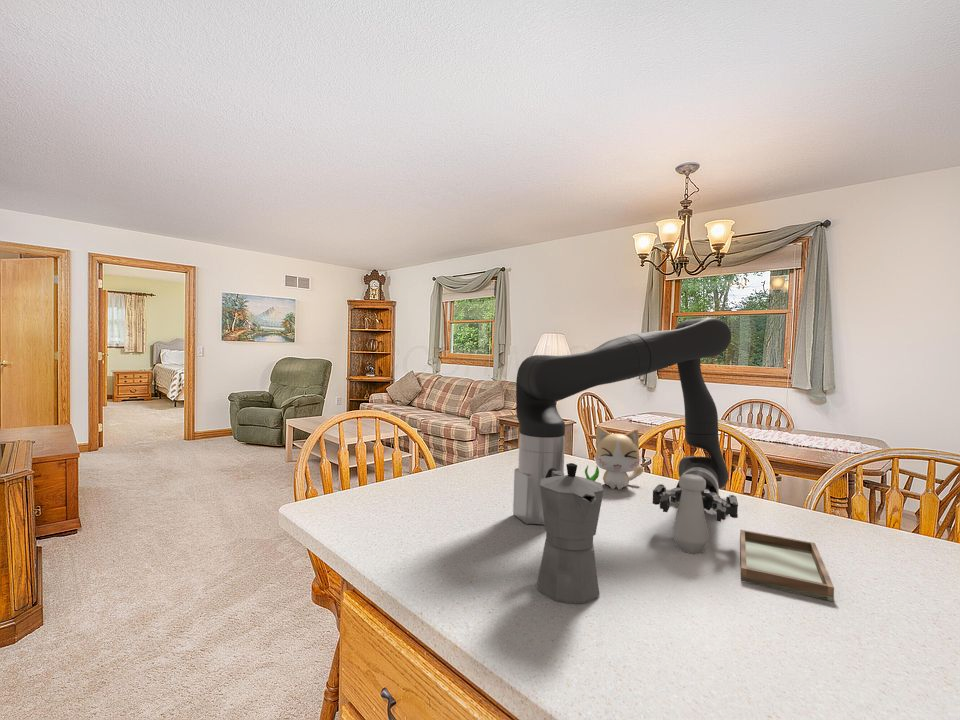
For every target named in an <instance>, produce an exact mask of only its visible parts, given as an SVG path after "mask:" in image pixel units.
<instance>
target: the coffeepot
mask: <svg viewBox="0 0 960 720" xmlns="http://www.w3.org/2000/svg"><path fill="white" fill-rule="evenodd" d="M565 465H566V471H567V475H566V474H565V473H563V472H561V471H558V470H557V469H555V468H550V469H549V470H548V472H547V474H546V477H545V478H543V479H541V483H540V488H541V498H542V507H543V516H544V531H545V533H546V534H545V541H544V545H543V551H542V556H541V562H540V567H539V571H538V577H537V587H536V588H537V590H538V591H539V592H540V593H541V594H542V595H544V596H545V597H547V598H548V599H550V600H553V601H557V602H560V603H562V604H563V603H564V604H572V605H573V604H576V605H577V604H584V603H585V604H586V603H590V602H592V601H594V600H595V599H596V598H597V597H599V596H600V588H599V580H598V573H597V564H596V555H595V547H594V537H595V536H596V534H597V529H598V528H597V527H598V522H599V518H600V513H601V506H602V501H603V495H604V487H603V484H602V483H601V482H599V481H596V480H595V481H592V480H589V479H586V478H585V477H582V476H578V475H576V473H577V469H578V464H576V463H573V462H571V463H566V464H565Z"/></svg>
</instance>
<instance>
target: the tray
mask: <svg viewBox="0 0 960 720" xmlns="http://www.w3.org/2000/svg"><path fill="white" fill-rule="evenodd" d="M739 532H740V533H739V551H740V552H739V555H740V556H739V557H740V558H739V559H740V561H739V563H740V582H743V583H744V582H745V583H748V584H754V585H757V586H762V587H767V588H769V589H770V588H771V589H775V590H780V591H784V592H788V593H793V594H796V595H802V596H806V597H810V598H816V599H818V600H824V601H828V602H833V603H834V601H835V599H834V597H835V586H834V584H833V582H832V579H831V577H830V575H829V573H828V570H827V568H826V565H825V563H824V561H823V558H822V556H821V554H820V552H819V549H818V547H817V545H816V543H815V542H812V541H806V540H801V539H796V538H790V537H783V536H778V535H775V534H774V535H772V534H768V533H762V532H758V531H757V532H756V531H752V530H745V529H740V531H739Z"/></svg>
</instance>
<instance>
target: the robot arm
mask: <svg viewBox="0 0 960 720" xmlns="http://www.w3.org/2000/svg"><path fill="white" fill-rule="evenodd" d="M731 341H732V331H731V329H730V327H729V325H728V324H727V323H726V322H724V321H723V320H721V319H719V318H716V317H709V316H708V317H700V318H693V319H692V318H691V319H686V320H683V321H680V322H679V323H678V324H677V325H676V326H675V328H674V329H669V330H668V329H665V330H655V331H646V332H637V333H633V334H629V335H623V336H619V337H616V338H613V339H611V340H608V341H606V342H604V343H601V345H599V346H597V347H595V348H593V349H592V350H589V351H585V352H580V353H574V354H566V355H546V354H545V355H543V354H538V355H537V354H536V355H531V356H528V357H526V358H525V359H524V360H523V361H522V362H521V363H520V365H519V367H518V369H517V374H516V381H515V384H516V385H515V387H516V388H515V391H516V392H515V394H516V395H515V404H516V405H515V407H516V408H515V410H516V417H517V418H516V419H517V421H518V424H519V425H518V426H519V433H518V434H519V440H518V441H519V442H518V443H519V444H518V468H514V474H513V475H514V476H513V501H512V503H513V504H512V505H513V507H512V515H514V516H515V517H516V518H518V519H519V520H520V521H522V522H523V523H524V524H526V525H529V524H530V525H531V524H533V525H544V516H543V507H542V498H541V488H540V483H541V479H543V478H545V477H546V474H547V472H548V470H549V469H550V468H555V469H557V470H558V471H561V472H563V473H564V471H565V469H564V468H565V467H564V466H565V440H566V439H565V437H566V424H565V423H566V422H565V421H564V419H563V418H562V417H561V415H560V413H559V412H558V409H557V408H558V407H557V402H559V401H562V400H564V399H567V398H569V397H571V396H574V395H578V393H581V392H584V391H587V390H589V389H591V388H592V389H593V388H594V387H597V386H601V385H608V384H614V383H618V382H622V381H627V380H631V379H634V378H637V377H641V376H644V375H647V374H650V373H654V372H656V371H657V372H658V371H660V370H663V369H666V368H669V367H672V366H674V365H676V366H677V371H678V376H679V380H680V385H681V391H682V396H683V405H684V406H683V407H684V427H685V429H684V433H685V434H684V435H685V441H686V443H687V444H688V445H689V446H691V447H693V448H699V449H701V450H704V451H706V452H707V453H708V454H709V456H710V457H709V456H696V455H688V456H686V455H685V456H683V457H682V458H681V459H680V460H679V463H678V466H677V469H678V476H679V478H680V477H681V476H682V475H684V474H694V475H698V476H701V477H703V478H704V479H705V480H706V488H705V490H704V491H702V492H701V495H702V501H703V506H704V512H705V513H708V514H709V515H716V520H715V521H716V522H719V523H720V522H722V520H723V521H725V520H726V518H727V515H729V517H730V518H732V519H738V517H739V516H738V513H739V512H738V507H739V501H738V497H737V496H736V495H734V494H729V495H728V496H726V497H725V498H724V497H721V496H720V493H719V490H720V489H722V488H725V486H726V485H727V484H728V481H729V471H728V467H727V466H726V465H727V464H726V461H725V459H724V456H723V454H722V450H721V447H720V446H721V445H720V440H719V439H720V438H719V419H718V417H719V416H718V415H719V414H718V410H717V405H716V403H715V401H714V399H713V396H712V395H711V393H710V391H709V389H708V387H707V385H706V383H705V380H704V378H703V373H702V369H701V359H703V358H714V357H717V356H719V355H721V354H723V353H724V352H725V351H726V350H727V349H728V347H729V346H730V344H731ZM564 474H565V473H564ZM681 493H682V488H680V486H679V481H678V482H677V484H676V487H673V488H671V489H667V487H666V486H665V484H662V483H661V484H657V486H656V487H654V488H653V490H652V504H653V505H656V506H657V505H659V509H661V510H662V512H663V513H668V511H669V509H670V508H673V509H677V510H678V506H679V502H680V497H681Z"/></svg>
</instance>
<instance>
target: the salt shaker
mask: <svg viewBox="0 0 960 720" xmlns="http://www.w3.org/2000/svg"><path fill="white" fill-rule="evenodd" d="M678 482H679V486H680V488H682V493H681V497H680V502H678V503H679V506H678V508H677V511H676V516H675V520H674V524H673V530H672V536H673V540H674V541H675V545H676V547H677V548H678V549H679V550H680V551H681V552H684V553H687V554H692V555H697V554H703V553H704V552H703V551H705V548H706V546H707V544H708V543H709V541H710V536H709V531H708V524H707V519H706V514H705V513H706V512H704V506H703V501H702V495H701V492H702V491H704V490H705V488H706V480H705V479H704V478H703V477H701V476H698V475H694V474H684V475H682V476H681V477H679V479H678Z"/></svg>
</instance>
